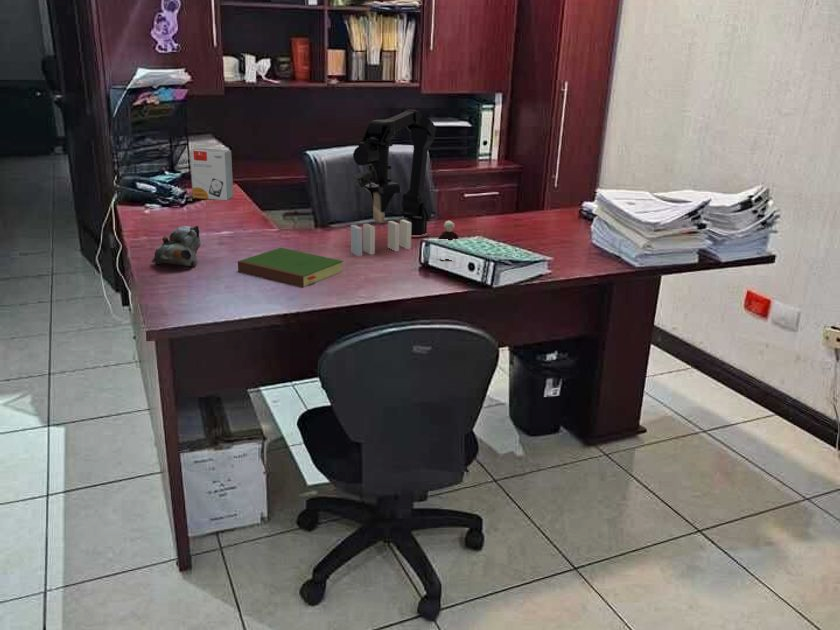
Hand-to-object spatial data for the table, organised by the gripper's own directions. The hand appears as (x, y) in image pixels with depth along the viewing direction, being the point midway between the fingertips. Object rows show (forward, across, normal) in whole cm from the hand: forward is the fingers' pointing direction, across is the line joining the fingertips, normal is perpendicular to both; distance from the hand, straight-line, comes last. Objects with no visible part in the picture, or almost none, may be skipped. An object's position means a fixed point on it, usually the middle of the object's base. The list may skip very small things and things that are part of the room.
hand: (379, 210), depth 238 cm
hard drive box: (+13, -100, -28) cm, 105 cm away
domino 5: (+13, +1, +9) cm, 16 cm away
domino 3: (+4, 0, 0) cm, 4 cm away
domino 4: (+13, +1, +5) cm, 14 cm away
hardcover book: (+14, +11, -34) cm, 39 cm away
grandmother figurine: (+13, +19, +15) cm, 28 cm away
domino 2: (+13, +1, -4) cm, 14 cm away
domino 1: (+13, +2, -9) cm, 16 cm away
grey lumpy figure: (+14, -10, -63) cm, 65 cm away
